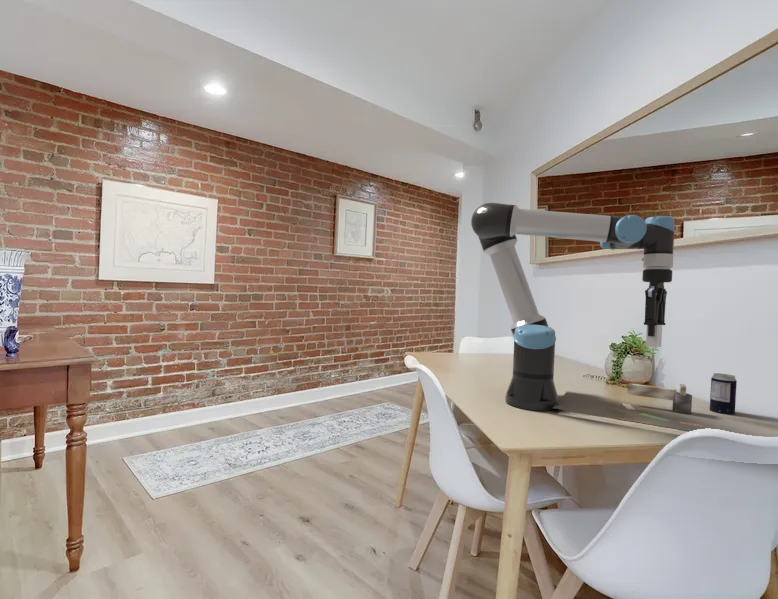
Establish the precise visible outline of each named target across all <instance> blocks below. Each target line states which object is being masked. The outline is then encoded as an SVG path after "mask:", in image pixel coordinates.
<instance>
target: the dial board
mask: <svg viewBox="0 0 778 599" xmlns="http://www.w3.org/2000/svg"><path fill="white" fill-rule="evenodd" d="M621 404H622V405H623V406H624V408H626V409H627V410H631V411H635V410H636V409H635V408H634V407H633V406H632V405H631V404H629V403H621ZM639 415H641V416H644V417H647V418H649V419H654V420H659V421H662V422H665V423H666V422H671V420H670V419H667V418H664V417H660V416H656V415H652V414H650V413H646V412H644V413H643V412H642V413H639ZM613 419H614V420H616V418H614V417H613ZM618 420H620V421H622V419H619V418H618ZM625 421H626V422H628V420H627V419H624V422H625ZM630 422H633V423H634V421H632V420H630ZM636 423H637V424H640V422H637V421H636ZM642 424H643V425H646V423H645V422H643V423H642ZM679 424H680V425H686V426H687V425H688V426H694V427H700V428H703V425H702V424H699V423H693V422H685V421H679ZM647 425H650V426H652V424H650V423H647ZM653 426H655V427H658V425H655V424H653ZM659 427H660V428H661V427H663V428H664V425H663V426H662V425H659ZM665 428H666V429H670V427H668V426H665ZM671 429H675V430H676V428H674V427H671ZM677 430H679V431H682V429H680V428H677ZM683 431H686V432H688V430H684V429H683Z"/></svg>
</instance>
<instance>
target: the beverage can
mask: <svg viewBox="0 0 778 599" xmlns="http://www.w3.org/2000/svg"><path fill="white" fill-rule="evenodd" d="M737 382H738V381H737V379H736V375H732V374H728V373H713V375H712V376H711V379H710V395H709V396H710V397H709V411H710V412H712V413H716V414H719V415H726V416H727V415H728V416H730V415H731V416H734V415H735V414H736V403H737V402H736V400H737V399H736V398H737Z"/></svg>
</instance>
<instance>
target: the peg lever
mask: <svg viewBox="0 0 778 599" xmlns="http://www.w3.org/2000/svg"><path fill="white" fill-rule="evenodd" d="M618 383H619V384H625V385H626V384H627V391H626V392H627V394H626V395H629V396H638V397H646V398H652V399H659V400H665V401H666V400H667V401H672V409H671V410H672V412H675V413H677V414H682V415H683V414H684V415H691V414H692V408H693V406H692V405H693V403H692V402H693V395H692V394H690V393H687V386H686V385H685V384H682V383H681V384H679V392H678V391H677V389H676V388H669V387H661V386H653V385H648V384H647V385H645V384H639V383H638V384H637V383H631V382H630V381H627V380H620V379H619V380H618Z"/></svg>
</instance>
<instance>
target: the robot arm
mask: <svg viewBox="0 0 778 599" xmlns="http://www.w3.org/2000/svg"><path fill="white" fill-rule="evenodd" d="M470 224H471V228H472V230H473V232H474V233H475V234H476V236H477V237H478V239H479V243H480V245H481V247H482V250H483V253H484V254H486V255H488V256H489V257H490V259H491V262H492V265H493V266H492V267H493V268H494V270H495V274H496V277H497V279H498V283H499V285H500V288H501V291H502V294H503V296H504V299H505V303H506V305H507V309H508V311H509V313H510V316H511V319H512V324H511V327H510V330H511V334H512V336H513V341H514V342H513V360H512V362H513V363H512V376H511V379H510V382H509V385H508V387H507V389H506V394H505V403H507V404H508V403H509V404H508V405H510V406H512V405H513V406H512V407H515V406H516V407H515V408H519V409H523V410H531V411H541V412H542V411H543V412H546V411H555V410H556V408H555V406H558V405H559V403H560V399H559V396H558V392H557V389H556V386H555V382H554V374H555V352H556V348H555V347H556V341H557V338H556V331H555V329H553V328H552V327H551V326H550V327H549V324H548V321H547V319H546V316H544V315H542V314H540V313H539V310H538V308H537V305H536V302H535V299H534V297H533V294H532V291H531V288H530V285H529V282H528V280H527V277H526V275H525V272H524V269H523V266H522V263H521V260H520V258H519V255H518V252H517V249H516V245H517V242H518V238H517V235H523V236H526V235H527V236H532V237H533V236H534V237H545V238H557V239H564V240H565V239H566V240H567V239H569V240H577V241H588V242H589V241H590V242H598V243H599V244H600V248H601V249H603V250H611V251H613V250H643V258H641V262H642V264H643V265H642V266H643V268H644V269H643V270H642V279H641V280H642V282H644V283H648V284H649V285H648V287H647V289H645V291H644V293H645V302H644V303H645V304H644V305H645V306H644V307H645V308H644V322H643V325H644V326H646V334H645V335H646V336H645V337H646V338H645V339H646V340H645V347H646V348H653V349H654V348H655V349H657V348H661V347H662V338H663V337H662V334H663V326H666V322H665V320H666V318H665V317H666V304H667V303H666V301H667V300H666V299H667V294H668V291H667V290H666V288H665V283H672V281H673V270H672V268H674V245H675V234H676V231H675V219H674V218H673V217H672V216H667V215H657V216H651V217H649V216H648V217H647V218H646V219H645V220H644V219H643V218H642V217H641V216H639V215H636V214H627V215H625V216H617V215H604V214H590V213H589V214H588V213H580V212H579V213H576V212H567V211H565V212H563V211H555V210H553V211H550V210H538V209H527V208H526V209H524V208H519V207H518V206H517V205H516V204H509V203H508V204H506V203H500V202H499V203H497V202H487V203H486V202H485V203H483V204H481V205H479V206H478V207H477V208H476V209H475V210H474V212H473V213H472V217H471V223H470Z"/></svg>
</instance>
